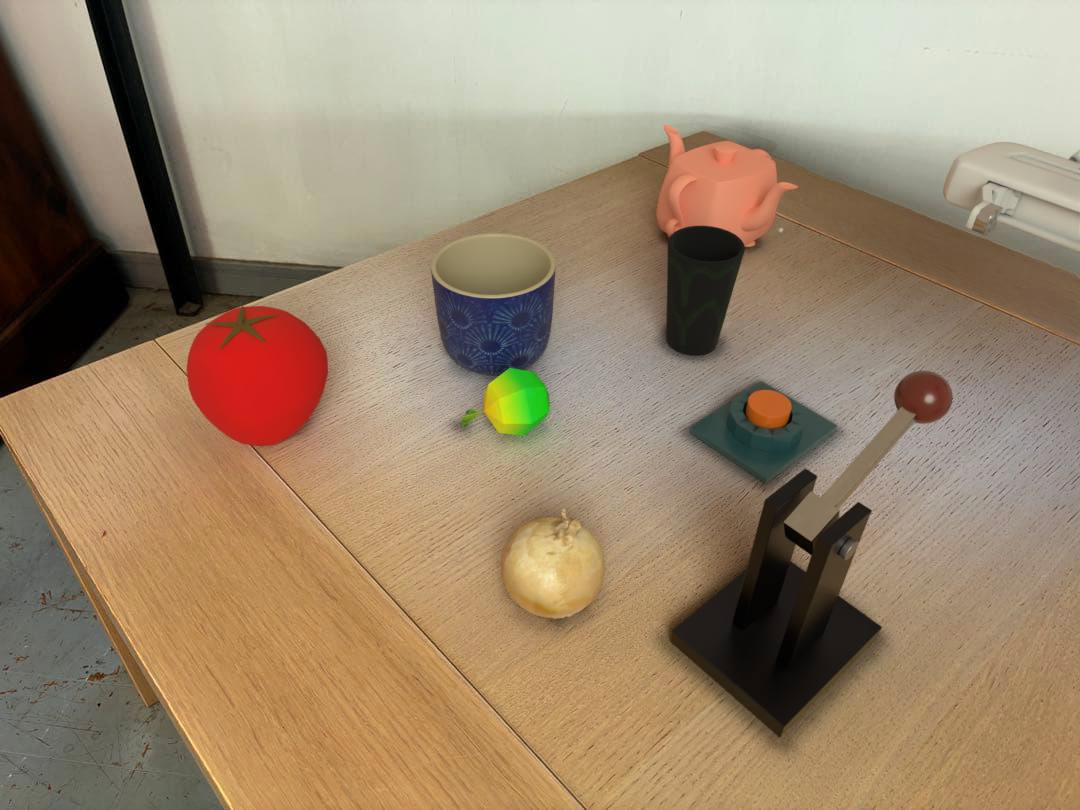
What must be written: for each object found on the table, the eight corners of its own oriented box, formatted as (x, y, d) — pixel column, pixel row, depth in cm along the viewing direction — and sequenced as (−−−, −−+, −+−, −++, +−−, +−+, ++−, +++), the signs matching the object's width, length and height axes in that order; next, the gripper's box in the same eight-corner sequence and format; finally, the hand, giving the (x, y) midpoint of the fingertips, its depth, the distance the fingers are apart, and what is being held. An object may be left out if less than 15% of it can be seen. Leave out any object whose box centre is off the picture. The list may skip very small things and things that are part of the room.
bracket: (768, 558, 68) (807, 423, 58) (877, 638, 62) (940, 503, 52) (669, 641, 62) (694, 506, 52) (779, 738, 56) (831, 606, 46)
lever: (912, 381, 59) (916, 351, 56) (960, 406, 57) (967, 376, 54) (776, 534, 56) (773, 511, 53) (822, 567, 54) (821, 544, 51)
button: (762, 396, 80) (765, 384, 79) (797, 417, 78) (800, 404, 77) (736, 414, 78) (739, 401, 77) (771, 435, 76) (774, 423, 75)
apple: (548, 352, 77) (458, 379, 73) (571, 417, 76) (481, 446, 73) (525, 371, 83) (441, 395, 80) (546, 430, 83) (463, 457, 79)
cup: (736, 358, 88) (756, 259, 81) (667, 365, 87) (681, 266, 80) (713, 318, 94) (729, 222, 86) (648, 323, 93) (659, 227, 86)
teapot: (654, 207, 115) (664, 117, 107) (776, 219, 112) (796, 128, 104) (643, 261, 104) (653, 165, 96) (778, 276, 101) (800, 179, 93)
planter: (461, 400, 83) (455, 308, 76) (423, 333, 91) (414, 246, 84) (573, 369, 87) (576, 280, 80) (526, 308, 95) (525, 223, 88)
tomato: (204, 478, 74) (164, 366, 66) (208, 397, 83) (173, 290, 75) (343, 453, 77) (321, 343, 69) (333, 377, 85) (312, 272, 77)
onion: (595, 640, 62) (601, 581, 57) (491, 624, 63) (488, 565, 58) (607, 557, 68) (613, 498, 63) (512, 544, 69) (511, 484, 64)
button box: (760, 386, 85) (764, 366, 83) (835, 430, 80) (842, 411, 78) (689, 433, 79) (692, 413, 78) (765, 484, 74) (770, 464, 73)
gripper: (1007, 110, 68) (919, 155, 61) (1298, 198, 57) (1231, 266, 50) (979, 181, 72) (894, 231, 65) (1246, 277, 61) (1177, 350, 54)
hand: (1042, 247), depth 58 cm, fingers open, 8 cm apart
